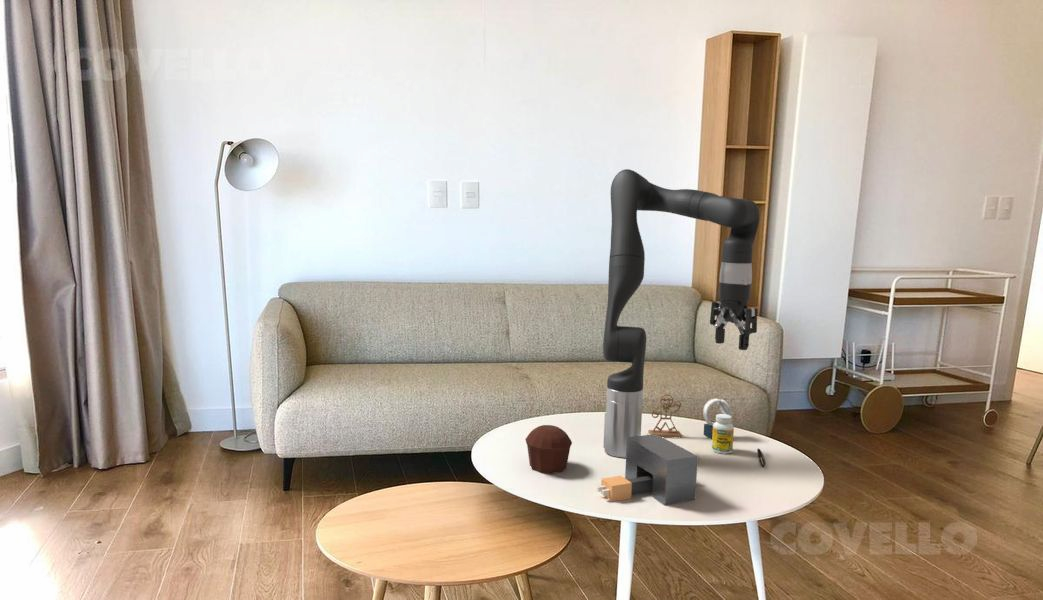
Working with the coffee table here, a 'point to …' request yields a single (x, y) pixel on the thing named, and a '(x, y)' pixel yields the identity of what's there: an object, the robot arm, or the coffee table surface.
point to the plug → (624, 487)
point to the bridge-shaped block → (662, 467)
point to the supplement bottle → (722, 434)
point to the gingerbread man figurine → (666, 433)
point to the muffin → (548, 449)
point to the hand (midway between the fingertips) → (731, 346)
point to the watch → (709, 426)
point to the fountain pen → (761, 458)
